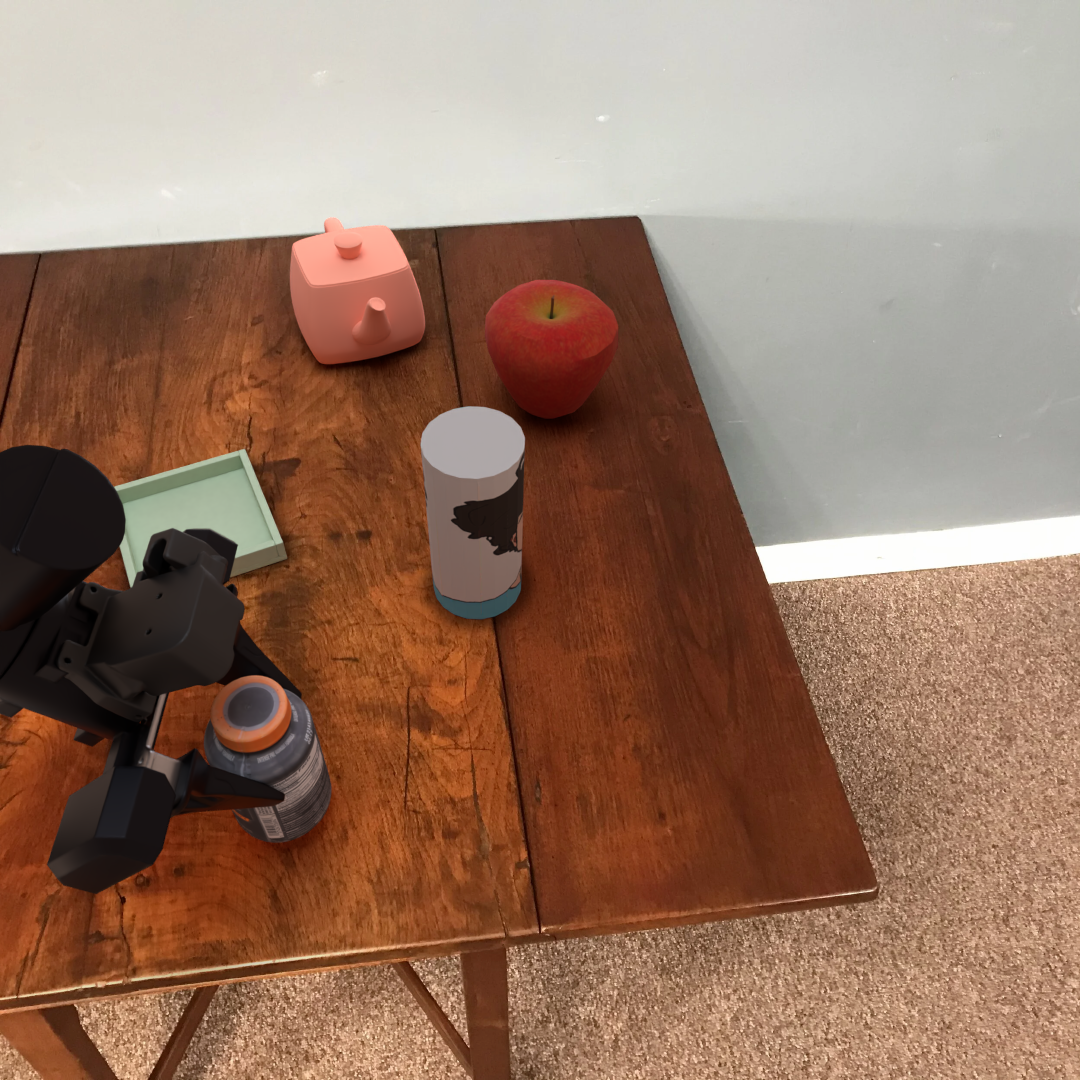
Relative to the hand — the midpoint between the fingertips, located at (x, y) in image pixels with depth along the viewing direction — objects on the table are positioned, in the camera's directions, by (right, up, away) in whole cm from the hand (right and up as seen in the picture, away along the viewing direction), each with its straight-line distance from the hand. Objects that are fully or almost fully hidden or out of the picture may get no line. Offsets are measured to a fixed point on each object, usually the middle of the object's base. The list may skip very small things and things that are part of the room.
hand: (289, 748), depth 53 cm
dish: (-13, +12, +21) cm, 28 cm away
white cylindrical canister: (+9, +8, +19) cm, 23 cm away
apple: (+15, +24, +33) cm, 43 cm away
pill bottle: (-2, -4, +5) cm, 7 cm away
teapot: (-3, +31, +38) cm, 49 cm away
